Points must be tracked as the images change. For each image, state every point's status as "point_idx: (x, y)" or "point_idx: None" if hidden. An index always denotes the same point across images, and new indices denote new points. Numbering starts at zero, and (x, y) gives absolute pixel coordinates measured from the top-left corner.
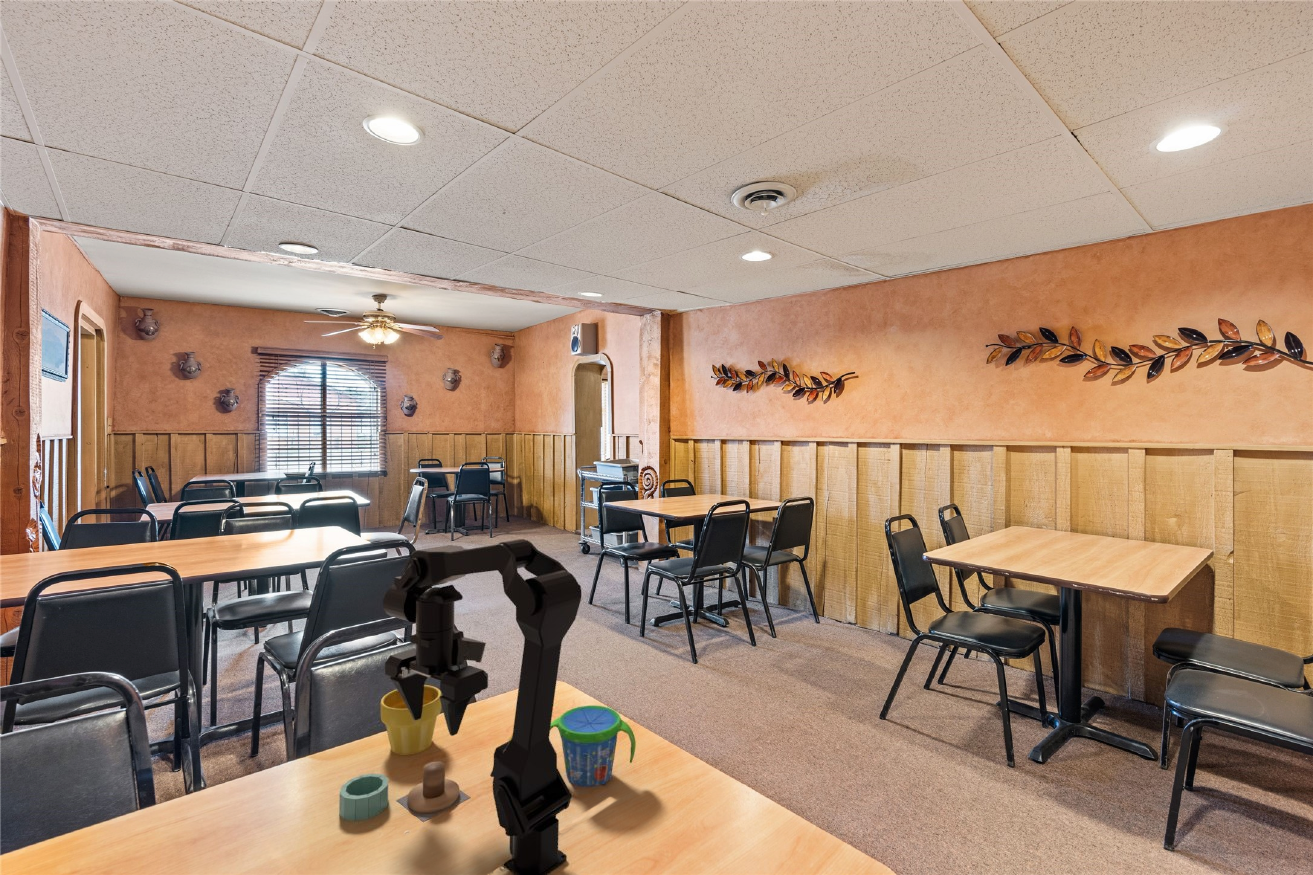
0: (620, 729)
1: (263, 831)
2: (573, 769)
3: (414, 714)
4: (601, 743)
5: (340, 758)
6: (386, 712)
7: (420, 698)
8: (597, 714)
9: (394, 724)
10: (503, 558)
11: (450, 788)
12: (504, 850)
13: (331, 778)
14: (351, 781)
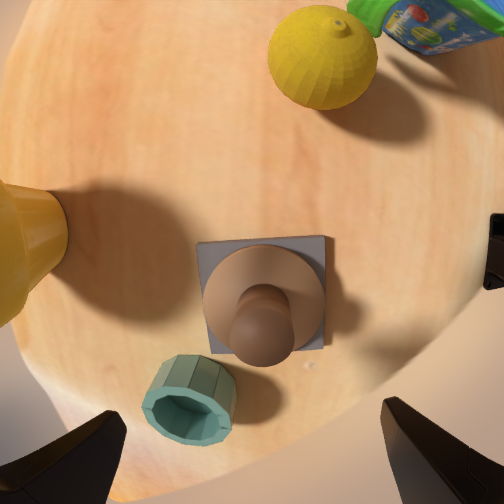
0: None
1: (162, 454)
2: (449, 47)
3: (119, 451)
4: None
5: (29, 329)
6: None
7: (71, 468)
8: None
9: (17, 314)
10: None
11: (278, 271)
12: (471, 266)
13: (73, 366)
14: (155, 422)
